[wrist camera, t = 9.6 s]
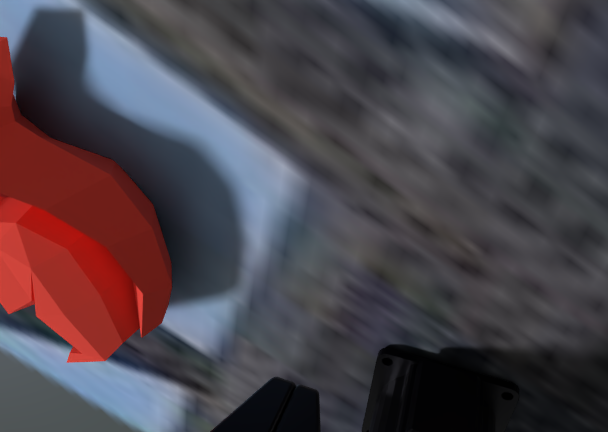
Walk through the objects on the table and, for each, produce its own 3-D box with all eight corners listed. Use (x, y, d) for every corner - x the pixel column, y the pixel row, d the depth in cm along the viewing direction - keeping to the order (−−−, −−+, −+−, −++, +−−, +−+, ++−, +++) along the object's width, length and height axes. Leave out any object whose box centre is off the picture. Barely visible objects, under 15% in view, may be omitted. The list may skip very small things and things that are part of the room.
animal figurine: (58, -11, 22) (-45, 11, 18) (227, 282, 27) (178, 352, 23) (-92, 86, 27) (-199, 120, 23) (75, 316, 33) (12, 378, 28)
